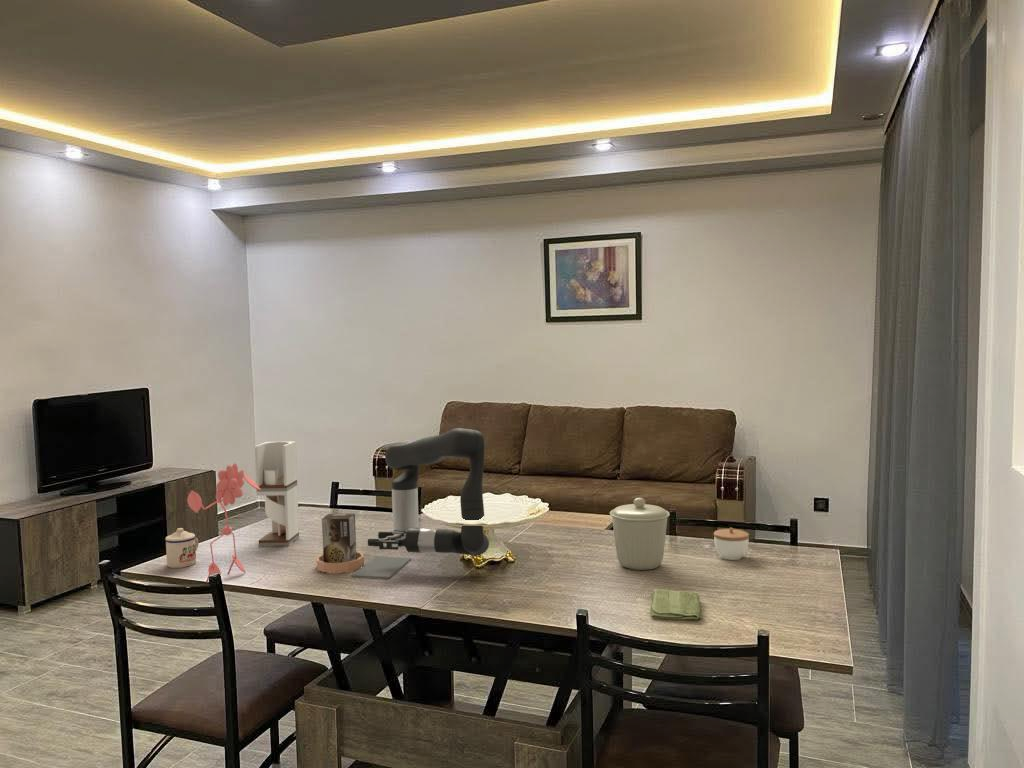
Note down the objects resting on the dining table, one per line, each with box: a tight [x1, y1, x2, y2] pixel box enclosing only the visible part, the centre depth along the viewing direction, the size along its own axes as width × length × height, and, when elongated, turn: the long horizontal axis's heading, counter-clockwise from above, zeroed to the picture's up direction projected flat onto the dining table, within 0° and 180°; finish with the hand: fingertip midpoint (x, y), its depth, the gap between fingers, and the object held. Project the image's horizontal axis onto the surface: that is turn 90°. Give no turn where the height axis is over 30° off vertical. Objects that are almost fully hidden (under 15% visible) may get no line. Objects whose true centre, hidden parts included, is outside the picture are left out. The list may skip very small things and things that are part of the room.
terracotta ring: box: [315, 550, 365, 574], centre depth 244 cm, size 14×14×3 cm
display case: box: [254, 441, 300, 547], centre depth 274 cm, size 11×11×35 cm
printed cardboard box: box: [321, 513, 357, 563], centre depth 243 cm, size 9×6×16 cm
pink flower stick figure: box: [187, 462, 265, 588], centre depth 230 cm, size 15×26×35 cm, turn 158°
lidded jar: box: [713, 527, 750, 561], centre depth 245 cm, size 11×11×9 cm
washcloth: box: [649, 588, 703, 621], centre depth 200 cm, size 13×18×3 cm
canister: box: [609, 497, 670, 571], centre depth 238 cm, size 18×18×21 cm
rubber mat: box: [350, 556, 412, 580], centre depth 241 cm, size 20×12×1 cm, turn 168°
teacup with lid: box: [164, 527, 199, 569], centre depth 250 cm, size 12×9×12 cm
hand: (373, 538), depth 241 cm, fingers open, 8 cm apart
